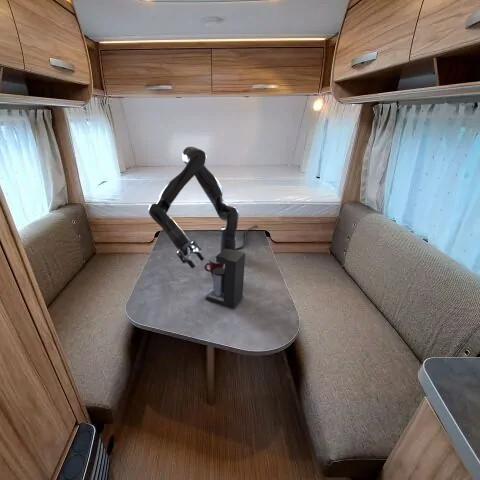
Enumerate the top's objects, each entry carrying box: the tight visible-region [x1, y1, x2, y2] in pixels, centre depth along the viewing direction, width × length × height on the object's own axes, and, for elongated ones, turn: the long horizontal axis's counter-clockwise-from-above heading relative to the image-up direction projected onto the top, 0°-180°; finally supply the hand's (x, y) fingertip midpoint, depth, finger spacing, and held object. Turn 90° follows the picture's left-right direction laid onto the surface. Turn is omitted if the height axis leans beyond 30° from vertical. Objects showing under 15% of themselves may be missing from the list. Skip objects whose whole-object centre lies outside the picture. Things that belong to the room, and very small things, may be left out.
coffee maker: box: [205, 249, 246, 309], centre depth 124 cm, size 15×11×24 cm
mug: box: [204, 256, 225, 276], centre depth 146 cm, size 11×8×10 cm
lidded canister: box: [212, 267, 225, 298], centre depth 127 cm, size 6×6×13 cm
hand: (198, 263), depth 129 cm, fingers open, 8 cm apart
